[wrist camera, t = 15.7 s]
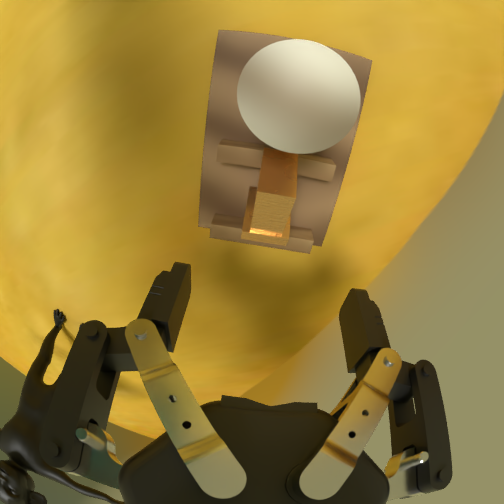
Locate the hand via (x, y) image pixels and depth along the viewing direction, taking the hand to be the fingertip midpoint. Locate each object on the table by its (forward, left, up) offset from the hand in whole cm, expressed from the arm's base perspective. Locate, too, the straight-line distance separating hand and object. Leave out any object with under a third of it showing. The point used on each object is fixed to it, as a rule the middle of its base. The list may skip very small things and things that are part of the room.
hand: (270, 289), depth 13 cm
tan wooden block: (+2, 0, -10) cm, 10 cm away
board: (-4, 0, -13) cm, 14 cm away
